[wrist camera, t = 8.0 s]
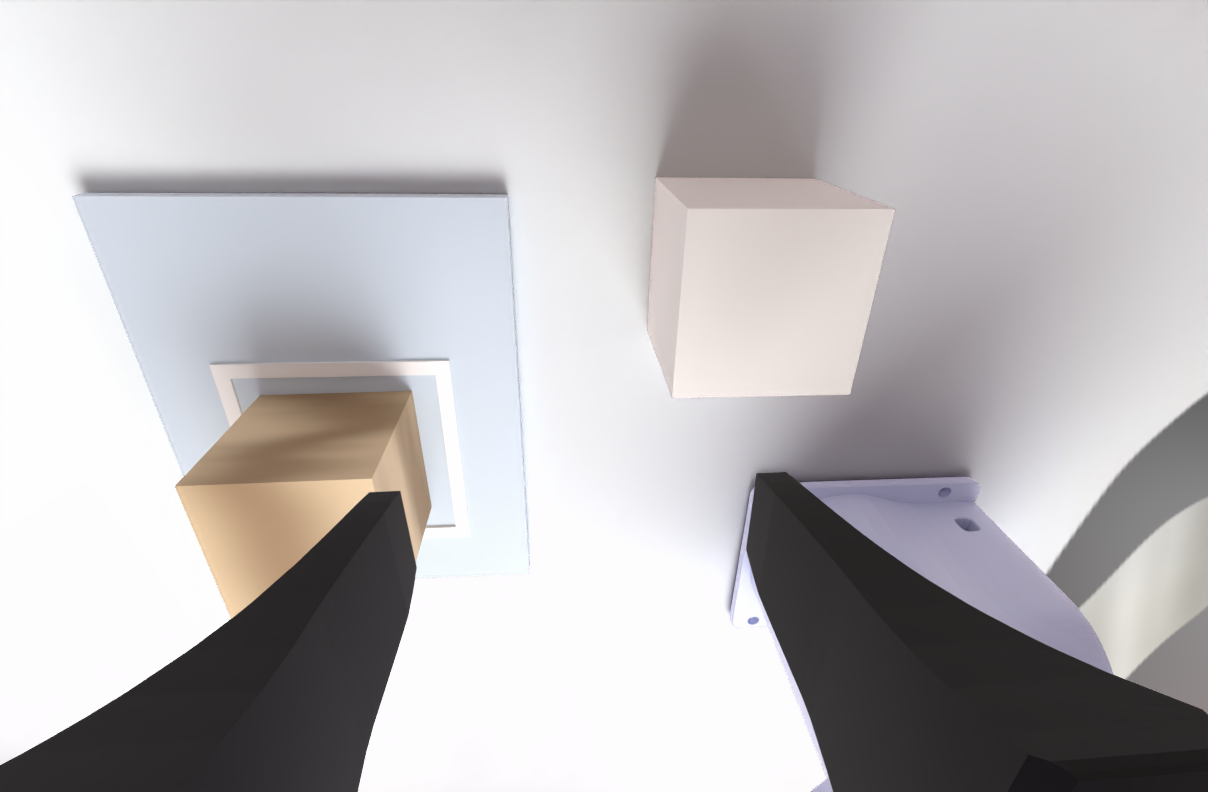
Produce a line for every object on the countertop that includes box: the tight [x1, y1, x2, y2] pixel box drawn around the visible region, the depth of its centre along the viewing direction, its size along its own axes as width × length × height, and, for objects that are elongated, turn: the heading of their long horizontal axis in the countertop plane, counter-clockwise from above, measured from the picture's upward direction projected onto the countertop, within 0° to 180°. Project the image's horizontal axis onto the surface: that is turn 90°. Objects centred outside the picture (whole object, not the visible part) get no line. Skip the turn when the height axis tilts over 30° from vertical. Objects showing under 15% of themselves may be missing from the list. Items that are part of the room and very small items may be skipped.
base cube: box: [175, 391, 432, 619], centre depth 19 cm, size 5×5×5 cm
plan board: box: [72, 193, 530, 578], centre depth 21 cm, size 12×15×1 cm
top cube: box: [647, 177, 895, 398], centre depth 17 cm, size 5×5×5 cm
